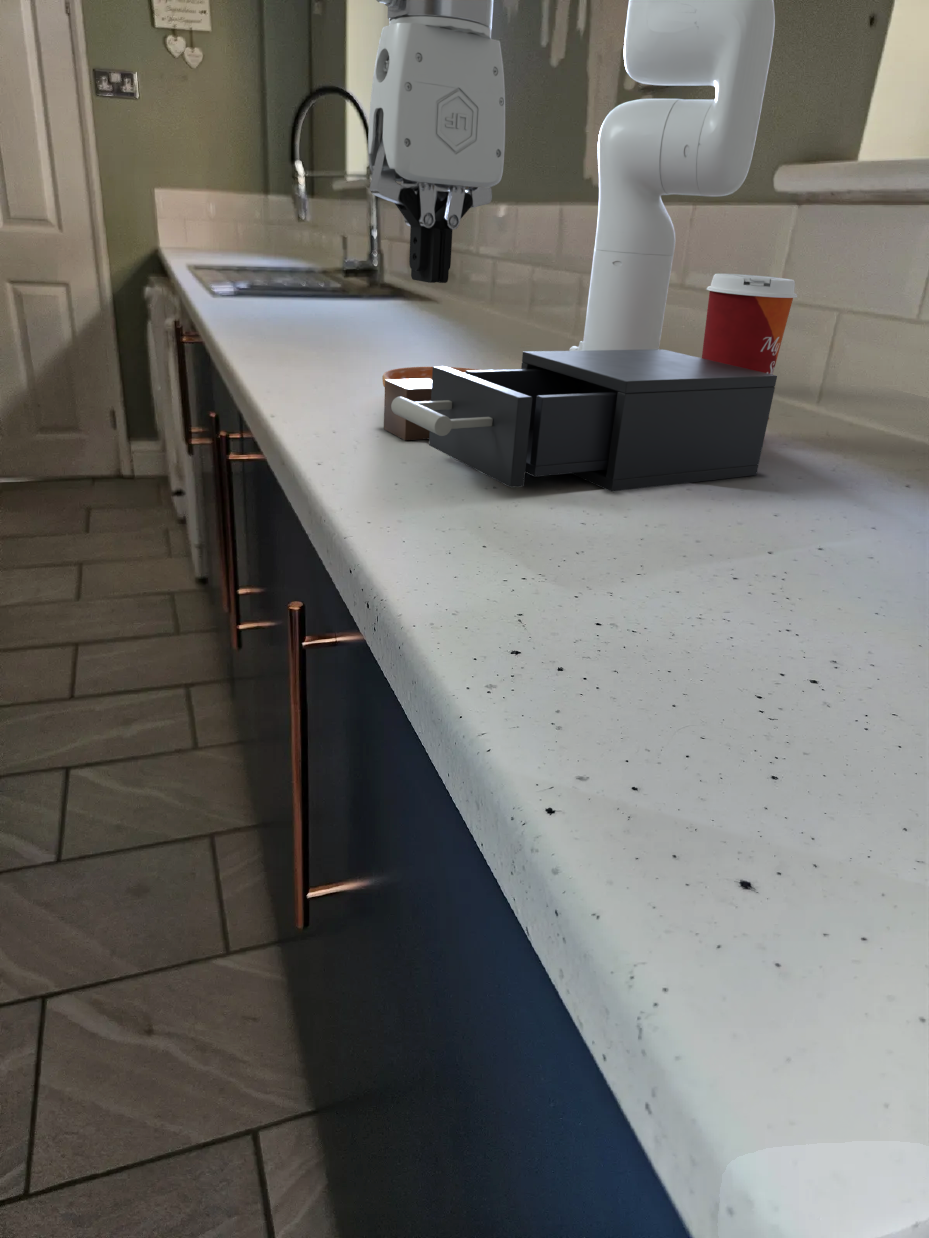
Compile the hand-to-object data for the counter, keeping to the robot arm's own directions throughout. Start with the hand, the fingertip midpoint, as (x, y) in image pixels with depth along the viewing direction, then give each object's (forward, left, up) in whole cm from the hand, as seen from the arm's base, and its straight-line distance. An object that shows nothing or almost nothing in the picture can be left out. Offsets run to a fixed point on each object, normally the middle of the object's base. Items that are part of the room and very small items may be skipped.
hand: (429, 280), depth 71 cm
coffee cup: (+6, +31, -14) cm, 34 cm away
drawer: (+11, +3, -12) cm, 17 cm away
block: (-3, +1, -13) cm, 14 cm away
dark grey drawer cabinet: (+11, +15, -13) cm, 23 cm away
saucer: (-13, +11, -14) cm, 22 cm away
